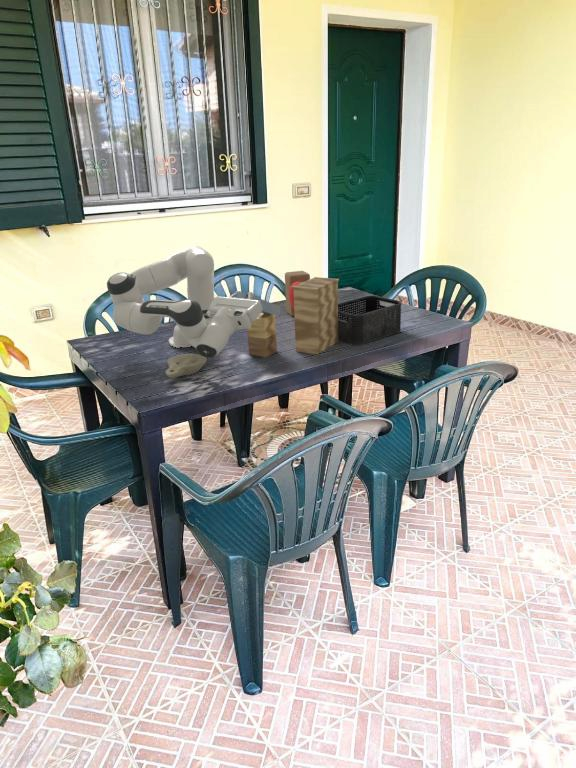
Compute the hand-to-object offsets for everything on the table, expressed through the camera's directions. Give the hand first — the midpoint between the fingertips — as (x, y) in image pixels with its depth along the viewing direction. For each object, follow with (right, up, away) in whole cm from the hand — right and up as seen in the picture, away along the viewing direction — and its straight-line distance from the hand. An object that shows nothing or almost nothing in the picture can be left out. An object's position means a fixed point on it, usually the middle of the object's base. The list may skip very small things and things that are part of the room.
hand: (245, 292), depth 210 cm
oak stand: (+28, -18, +23) cm, 40 cm away
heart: (+24, -6, +55) cm, 60 cm away
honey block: (+5, -14, +15) cm, 22 cm away
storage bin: (+48, -12, +36) cm, 62 cm away
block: (+21, +1, +71) cm, 74 cm away
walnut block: (+6, -21, +18) cm, 28 cm away
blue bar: (+4, -5, +9) cm, 11 cm away
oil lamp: (-22, -30, -1) cm, 38 cm away
